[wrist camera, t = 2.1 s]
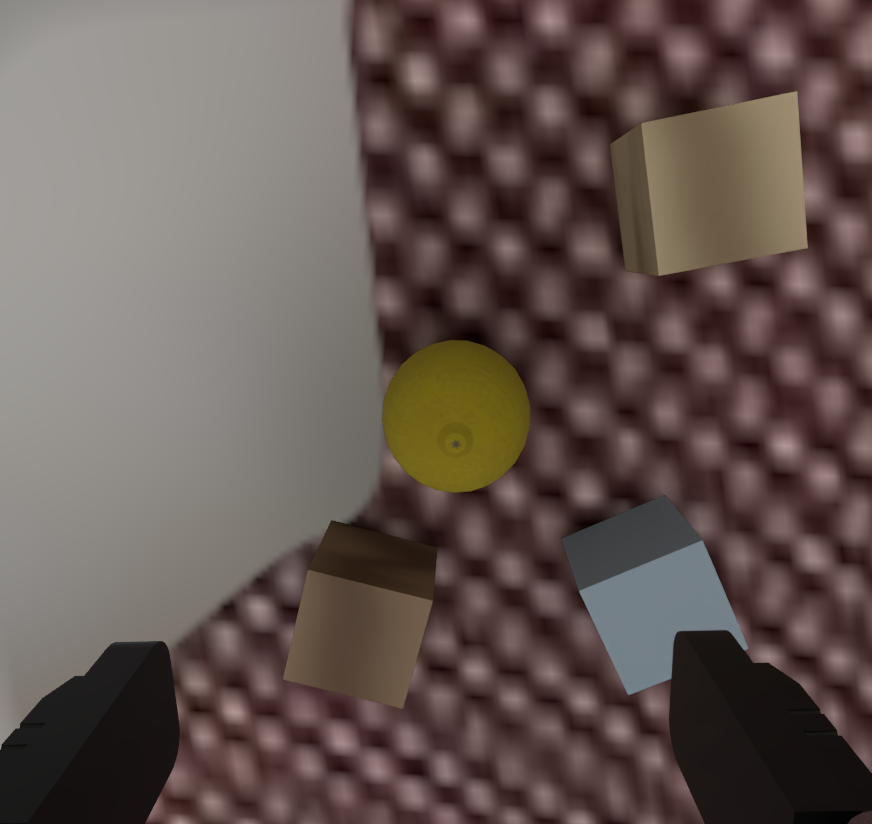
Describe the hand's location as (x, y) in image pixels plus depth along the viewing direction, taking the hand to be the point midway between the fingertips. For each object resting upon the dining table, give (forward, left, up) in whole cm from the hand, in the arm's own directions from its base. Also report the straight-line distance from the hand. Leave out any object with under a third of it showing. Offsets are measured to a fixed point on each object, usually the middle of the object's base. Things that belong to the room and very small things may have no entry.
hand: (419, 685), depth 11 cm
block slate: (-8, +7, -20) cm, 23 cm away
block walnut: (+4, +8, -20) cm, 22 cm away
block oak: (-9, -9, -20) cm, 24 cm away
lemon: (0, -1, -20) cm, 20 cm away
